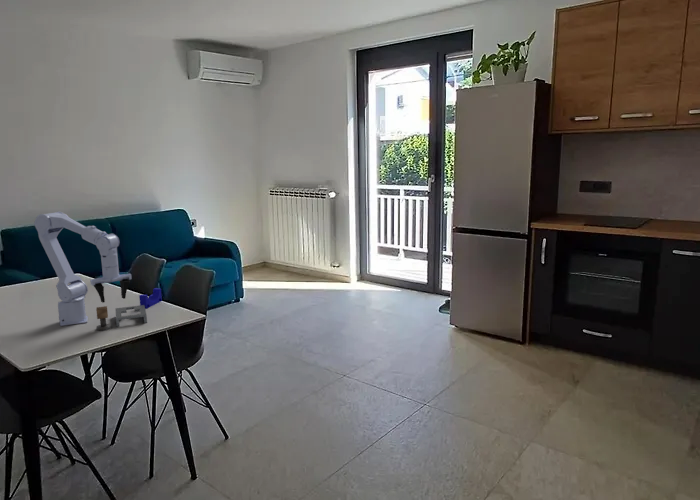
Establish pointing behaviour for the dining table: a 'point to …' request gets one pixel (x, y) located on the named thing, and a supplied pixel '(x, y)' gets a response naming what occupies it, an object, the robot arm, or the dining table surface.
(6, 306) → the dining table surface
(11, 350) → the dining table surface
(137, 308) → the notched window frame
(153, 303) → the blue curved bracket
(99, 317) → the peg
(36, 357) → the dining table surface
